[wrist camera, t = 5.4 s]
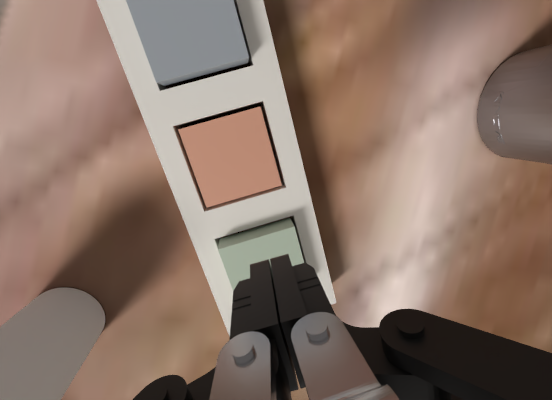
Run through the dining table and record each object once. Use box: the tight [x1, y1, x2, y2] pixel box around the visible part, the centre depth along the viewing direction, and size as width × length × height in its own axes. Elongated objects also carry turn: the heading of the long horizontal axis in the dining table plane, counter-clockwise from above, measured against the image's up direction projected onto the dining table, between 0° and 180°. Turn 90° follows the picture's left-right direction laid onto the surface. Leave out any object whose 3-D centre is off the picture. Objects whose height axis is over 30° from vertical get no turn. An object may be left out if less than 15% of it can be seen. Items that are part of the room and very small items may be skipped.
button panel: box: [97, 0, 336, 336], centre depth 22 cm, size 10×30×2 cm, turn 15°
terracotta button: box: [178, 107, 282, 208], centre depth 22 cm, size 6×6×2 cm
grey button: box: [126, 0, 249, 86], centre depth 18 cm, size 6×6×2 cm
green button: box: [218, 218, 304, 291], centre depth 23 cm, size 6×6×2 cm
